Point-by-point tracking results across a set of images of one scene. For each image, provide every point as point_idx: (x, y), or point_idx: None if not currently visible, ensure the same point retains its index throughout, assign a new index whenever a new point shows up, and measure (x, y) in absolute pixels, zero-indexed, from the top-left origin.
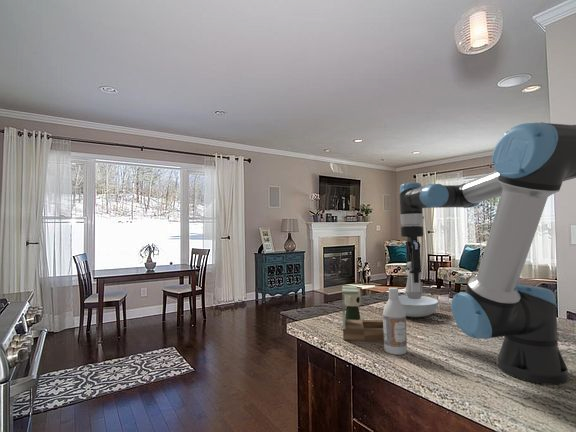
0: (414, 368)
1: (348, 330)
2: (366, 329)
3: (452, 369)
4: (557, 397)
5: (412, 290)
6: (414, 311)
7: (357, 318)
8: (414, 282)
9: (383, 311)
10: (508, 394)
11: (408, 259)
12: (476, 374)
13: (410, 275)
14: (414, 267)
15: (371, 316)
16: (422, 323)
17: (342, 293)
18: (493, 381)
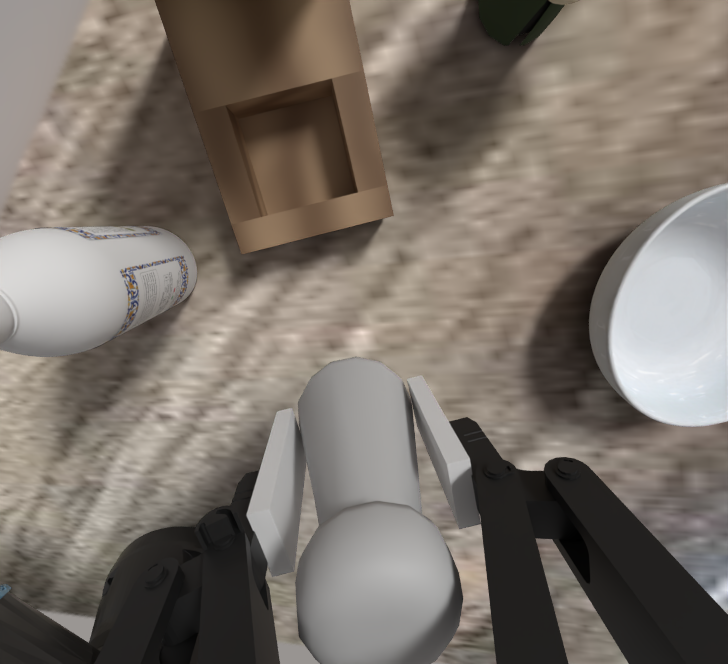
0: None
1: (164, 23)
2: (200, 126)
3: (96, 431)
4: (63, 598)
5: (276, 419)
6: (591, 320)
7: (495, 27)
8: (246, 475)
9: (12, 233)
10: (16, 529)
11: (491, 609)
12: (96, 480)
13: (323, 474)
14: (120, 630)
15: (610, 100)
16: (531, 339)
17: None
18: (73, 509)
